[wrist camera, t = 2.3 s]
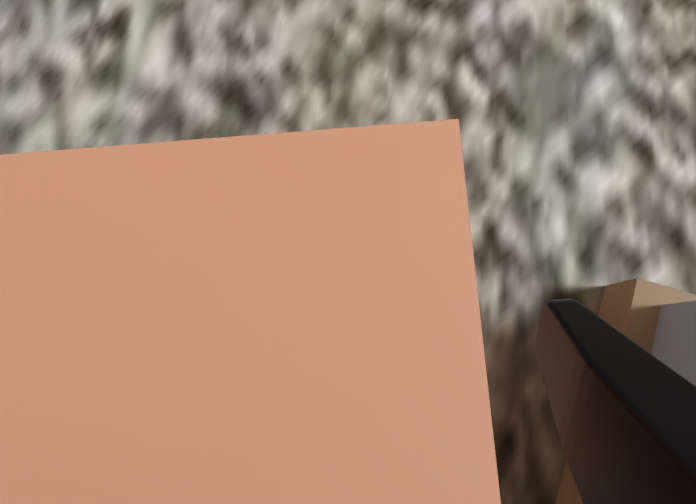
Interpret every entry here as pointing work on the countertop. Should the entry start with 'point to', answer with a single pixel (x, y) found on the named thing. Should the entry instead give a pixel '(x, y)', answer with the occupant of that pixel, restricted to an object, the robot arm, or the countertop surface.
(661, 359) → the grey top slab
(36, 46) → the countertop surface
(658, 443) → the robot arm
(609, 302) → the walnut base slab
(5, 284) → the terracotta block
